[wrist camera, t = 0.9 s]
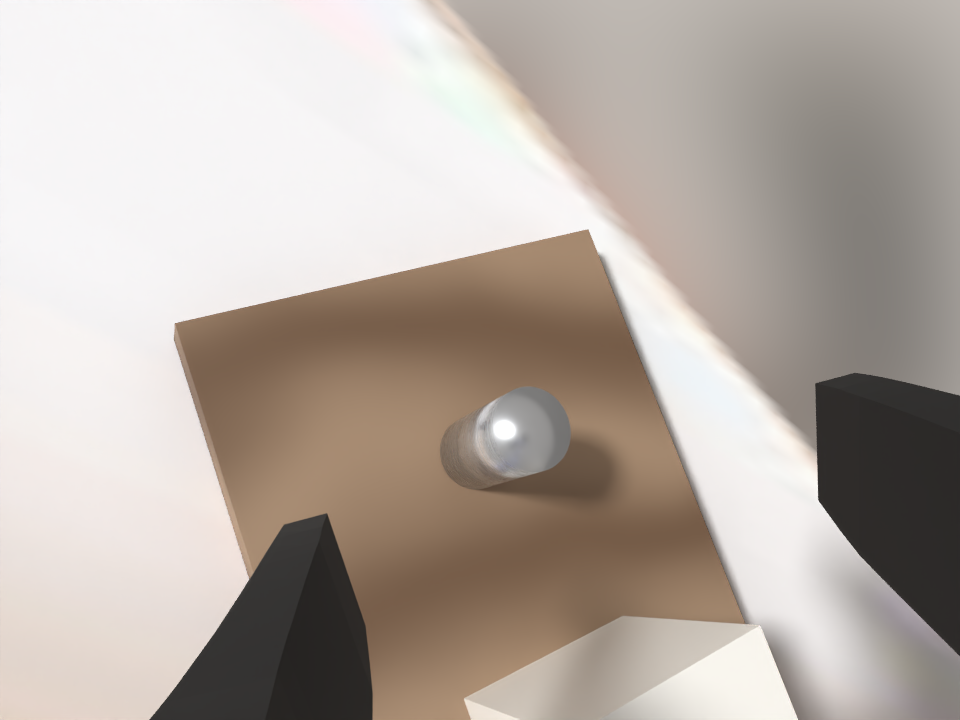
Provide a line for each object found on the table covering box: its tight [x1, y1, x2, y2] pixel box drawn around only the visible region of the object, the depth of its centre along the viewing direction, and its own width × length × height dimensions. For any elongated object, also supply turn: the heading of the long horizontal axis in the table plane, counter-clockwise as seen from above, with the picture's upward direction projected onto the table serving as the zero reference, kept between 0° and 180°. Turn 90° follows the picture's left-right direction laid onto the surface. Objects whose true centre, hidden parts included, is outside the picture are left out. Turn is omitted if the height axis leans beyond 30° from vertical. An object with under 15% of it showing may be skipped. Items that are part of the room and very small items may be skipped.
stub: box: [440, 387, 571, 490], centre depth 21 cm, size 2×2×4 cm
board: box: [174, 230, 745, 720], centre depth 23 cm, size 20×14×2 cm
